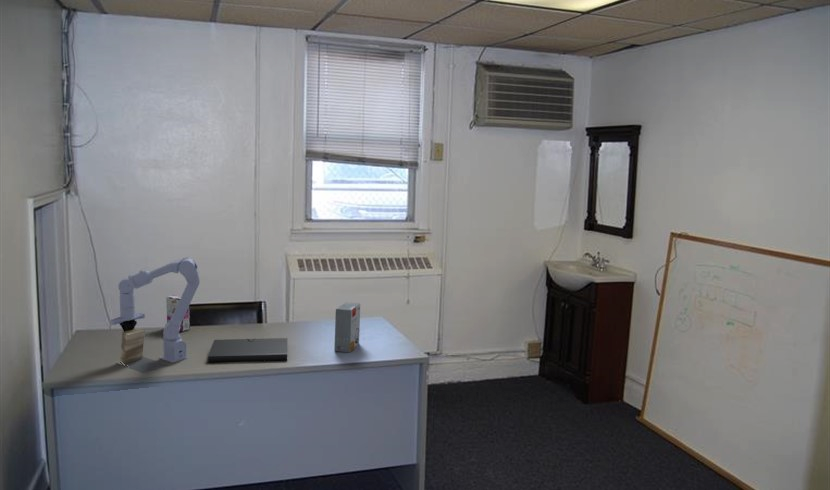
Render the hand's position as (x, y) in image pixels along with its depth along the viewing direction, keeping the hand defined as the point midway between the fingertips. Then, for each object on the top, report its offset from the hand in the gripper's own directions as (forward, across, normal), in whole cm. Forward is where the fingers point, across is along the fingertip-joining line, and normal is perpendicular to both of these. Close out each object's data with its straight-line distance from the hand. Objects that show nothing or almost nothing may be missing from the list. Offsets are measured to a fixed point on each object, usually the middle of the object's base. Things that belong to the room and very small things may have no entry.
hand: (128, 337), depth 277 cm
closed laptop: (+11, -38, +32) cm, 51 cm away
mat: (+10, 0, +8) cm, 13 cm away
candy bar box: (+10, -43, -24) cm, 50 cm away
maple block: (+9, 0, +1) cm, 9 cm away
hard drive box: (+10, -72, +60) cm, 95 cm away
